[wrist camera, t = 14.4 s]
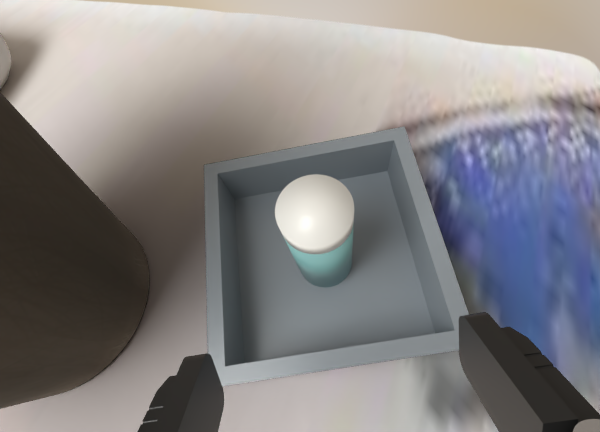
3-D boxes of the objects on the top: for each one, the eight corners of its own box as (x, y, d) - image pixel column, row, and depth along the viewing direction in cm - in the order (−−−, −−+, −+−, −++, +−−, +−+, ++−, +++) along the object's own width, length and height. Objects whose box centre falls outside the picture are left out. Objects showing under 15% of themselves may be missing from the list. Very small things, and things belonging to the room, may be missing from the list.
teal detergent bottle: (345, 231, 31) (344, 167, 21) (357, 281, 29) (363, 237, 19) (294, 241, 31) (270, 183, 21) (303, 292, 29) (280, 253, 19)
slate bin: (394, 164, 34) (404, 126, 29) (452, 350, 27) (480, 346, 21) (225, 195, 35) (203, 164, 30) (235, 383, 28) (208, 388, 22)
